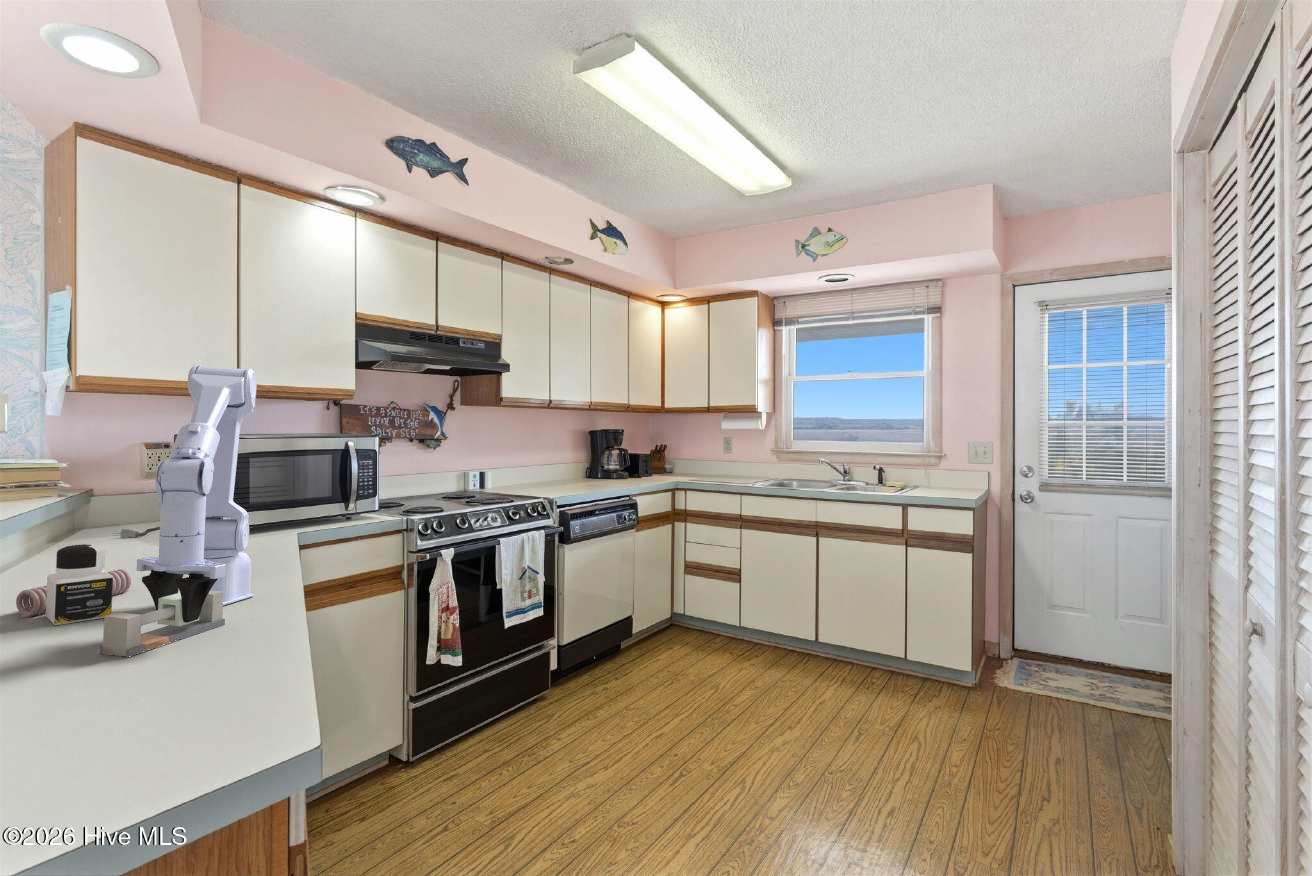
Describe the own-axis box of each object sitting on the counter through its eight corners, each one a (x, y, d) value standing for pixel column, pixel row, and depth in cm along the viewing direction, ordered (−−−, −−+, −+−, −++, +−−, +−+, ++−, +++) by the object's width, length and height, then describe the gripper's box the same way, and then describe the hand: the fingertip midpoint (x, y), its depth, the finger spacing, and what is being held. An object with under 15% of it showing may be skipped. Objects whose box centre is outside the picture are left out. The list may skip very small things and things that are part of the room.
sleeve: (178, 617, 101) (179, 592, 101) (199, 620, 100) (200, 595, 100) (157, 623, 98) (158, 598, 98) (179, 626, 97) (180, 600, 97)
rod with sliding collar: (199, 621, 105) (200, 589, 105) (224, 624, 105) (226, 592, 105) (99, 653, 90) (101, 615, 90) (128, 657, 89) (130, 619, 89)
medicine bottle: (54, 626, 100) (57, 551, 100) (45, 616, 104) (48, 545, 104) (111, 617, 106) (115, 546, 106) (101, 608, 110) (104, 540, 110)
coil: (35, 593, 103) (137, 570, 121) (11, 588, 103) (116, 566, 121) (32, 621, 103) (134, 594, 121) (7, 616, 103) (113, 589, 121)
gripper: (118, 534, 96) (114, 621, 96) (199, 541, 94) (195, 631, 94) (162, 527, 103) (158, 609, 103) (238, 534, 101) (234, 618, 101)
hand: (178, 619), depth 99 cm, fingers closed on sleeve, 4 cm apart
